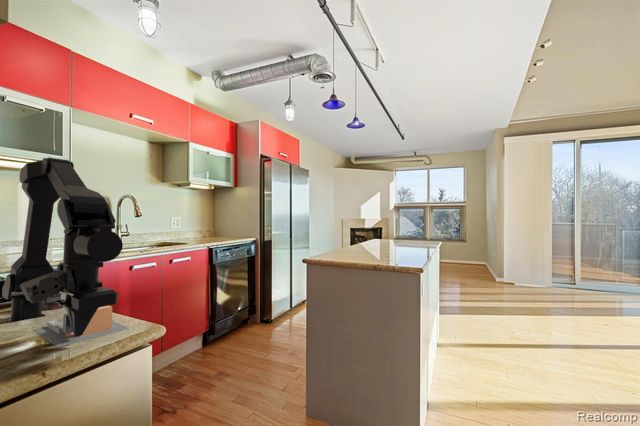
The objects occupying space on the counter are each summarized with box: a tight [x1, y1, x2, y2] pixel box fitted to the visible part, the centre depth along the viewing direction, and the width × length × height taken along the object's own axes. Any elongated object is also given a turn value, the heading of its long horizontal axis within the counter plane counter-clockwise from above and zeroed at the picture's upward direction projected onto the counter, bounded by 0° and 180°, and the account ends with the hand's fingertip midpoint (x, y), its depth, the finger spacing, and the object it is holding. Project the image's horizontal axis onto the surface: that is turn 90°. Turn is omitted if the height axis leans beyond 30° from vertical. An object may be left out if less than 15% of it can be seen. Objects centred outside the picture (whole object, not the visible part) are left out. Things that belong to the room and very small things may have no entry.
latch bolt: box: [54, 313, 74, 335], centre depth 64 cm, size 10×2×4 cm, turn 57°
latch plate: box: [32, 319, 130, 348], centre depth 69 cm, size 16×13×2 cm
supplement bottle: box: [42, 267, 64, 311], centre depth 88 cm, size 6×6×11 cm
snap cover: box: [65, 305, 113, 337], centre depth 68 cm, size 6×8×5 cm
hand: (78, 335), depth 60 cm, fingers closed
